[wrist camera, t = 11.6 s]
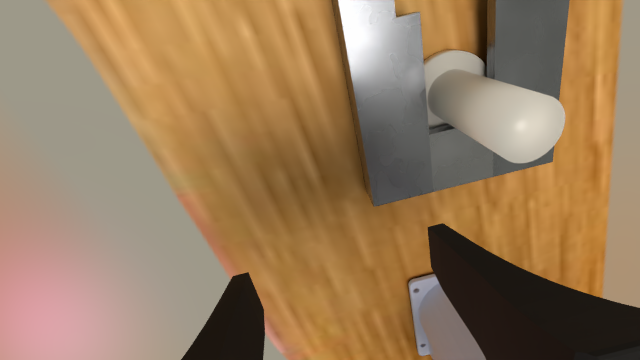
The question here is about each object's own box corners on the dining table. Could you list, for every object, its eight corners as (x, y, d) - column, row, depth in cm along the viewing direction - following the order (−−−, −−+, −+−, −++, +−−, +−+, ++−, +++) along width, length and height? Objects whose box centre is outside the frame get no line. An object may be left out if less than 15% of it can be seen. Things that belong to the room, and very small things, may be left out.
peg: (481, 121, 23) (577, 170, 15) (408, 137, 22) (472, 194, 15) (484, 41, 20) (598, 56, 13) (403, 58, 20) (475, 83, 13)
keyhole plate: (531, 150, 24) (552, 161, 22) (366, 191, 24) (374, 206, 22) (560, -261, 15) (600, -300, 13) (296, -196, 15) (298, -226, 13)
